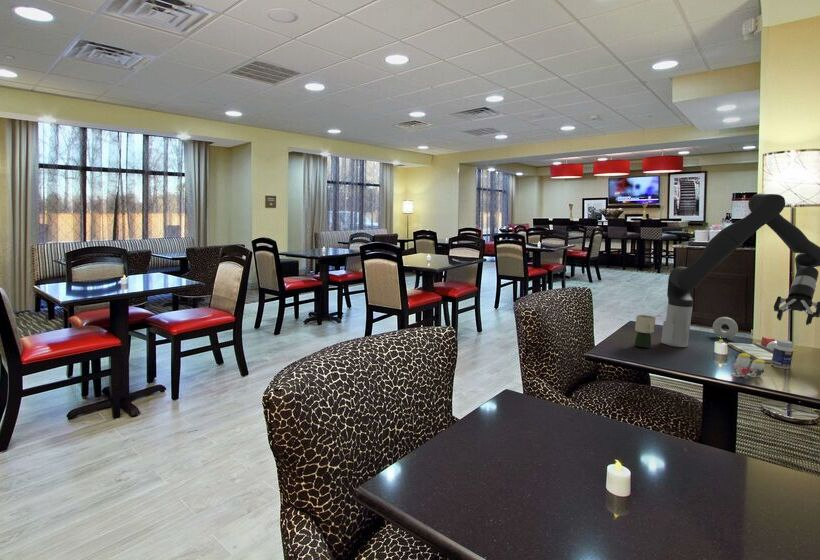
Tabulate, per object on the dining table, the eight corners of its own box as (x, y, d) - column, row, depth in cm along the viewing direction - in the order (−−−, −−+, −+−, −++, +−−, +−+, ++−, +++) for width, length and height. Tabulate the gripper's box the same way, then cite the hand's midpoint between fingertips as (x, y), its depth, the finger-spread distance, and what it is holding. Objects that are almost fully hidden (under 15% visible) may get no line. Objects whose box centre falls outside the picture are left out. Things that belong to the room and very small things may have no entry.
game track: (787, 364, 184) (788, 360, 184) (759, 362, 185) (760, 359, 185) (752, 346, 207) (752, 344, 206) (727, 345, 208) (727, 342, 207)
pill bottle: (785, 370, 177) (789, 343, 175) (767, 365, 182) (772, 339, 180) (793, 368, 179) (797, 342, 178) (776, 363, 184) (780, 338, 183)
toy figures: (756, 374, 171) (760, 351, 170) (767, 378, 167) (770, 355, 165) (725, 374, 169) (729, 351, 168) (735, 378, 165) (739, 355, 164)
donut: (737, 340, 216) (740, 319, 215) (734, 341, 214) (738, 319, 213) (712, 335, 224) (715, 314, 222) (709, 336, 222) (712, 315, 220)
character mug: (657, 351, 194) (661, 320, 192) (640, 350, 194) (644, 319, 192) (644, 343, 205) (648, 313, 203) (627, 343, 205) (631, 313, 203)
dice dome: (789, 359, 196) (791, 344, 195) (770, 358, 196) (773, 343, 195) (770, 350, 207) (772, 336, 206) (753, 349, 208) (755, 335, 207)
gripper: (780, 281, 195) (770, 312, 189) (826, 286, 185) (817, 319, 179) (780, 292, 199) (771, 323, 193) (825, 298, 189) (816, 330, 183)
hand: (793, 321), depth 186 cm, fingers open, 8 cm apart
